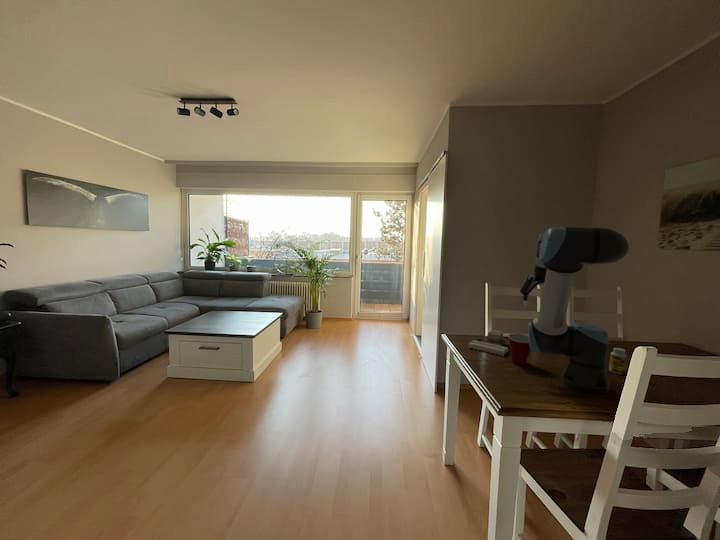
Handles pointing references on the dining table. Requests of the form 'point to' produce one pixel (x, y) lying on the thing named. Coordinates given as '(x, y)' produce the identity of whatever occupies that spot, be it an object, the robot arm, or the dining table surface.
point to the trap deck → (490, 345)
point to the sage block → (495, 336)
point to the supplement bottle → (618, 361)
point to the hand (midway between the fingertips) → (538, 303)
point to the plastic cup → (519, 348)
